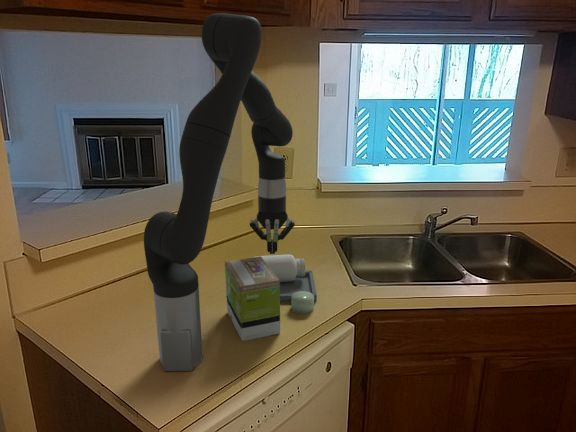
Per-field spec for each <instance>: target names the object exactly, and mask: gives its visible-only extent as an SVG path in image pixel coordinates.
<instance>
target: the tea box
mask: <svg viewBox="0 0 576 432" xmlns="http://www.w3.org/2000/svg"><path fill="white" fill-rule="evenodd" d="M259 256H260V257H256V256H253V257H254V258H253V257H249V258H243V259H242V258H241V259H237V260H236V259H235V260H228V261H224V273H225V291H226V292H225V293H226V294H225V295H226V310H227V314H228V316H229V317H230V320H231V322H232V324H233V325H234V328H235V330H236V332H237V335H238V336H239V338H240V340H241V342H245V341H250V340H255V339H261V338H264V337H265V338H266V337H269V336H274V335H279V334H281V302H280V280H279V279H278V278H277V276H276V275H275V274H274V273H273V271H272V270H271V269H270V268H269V266H268V265H267V264H266V263H265V261H264V260H263V259H262V257H261V256H262V255H259Z"/></svg>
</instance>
